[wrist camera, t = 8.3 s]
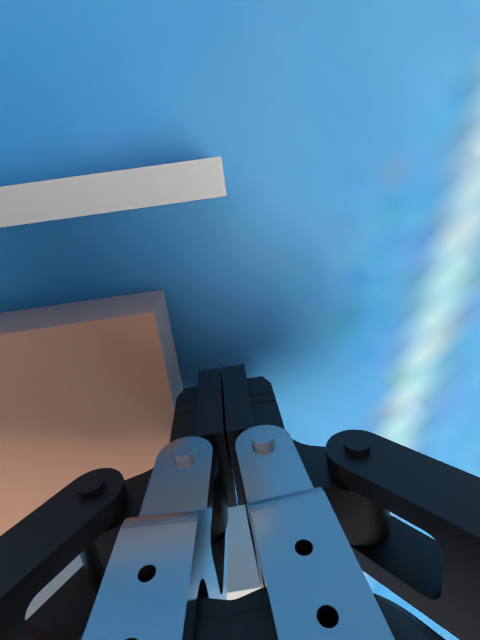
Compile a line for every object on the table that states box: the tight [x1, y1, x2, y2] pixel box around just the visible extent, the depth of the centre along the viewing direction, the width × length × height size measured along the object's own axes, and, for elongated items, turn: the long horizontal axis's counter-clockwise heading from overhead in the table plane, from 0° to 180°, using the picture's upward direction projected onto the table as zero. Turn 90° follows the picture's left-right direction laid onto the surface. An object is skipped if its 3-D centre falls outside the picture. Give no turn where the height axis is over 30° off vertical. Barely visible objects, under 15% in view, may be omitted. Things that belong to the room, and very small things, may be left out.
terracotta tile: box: [0, 289, 183, 536], centre depth 13 cm, size 7×7×3 cm
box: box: [0, 156, 261, 620], centre depth 12 cm, size 14×13×4 cm
